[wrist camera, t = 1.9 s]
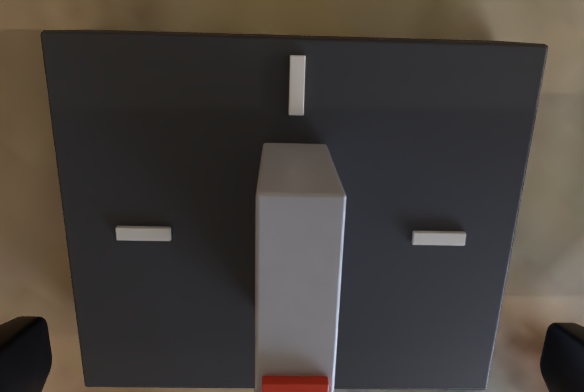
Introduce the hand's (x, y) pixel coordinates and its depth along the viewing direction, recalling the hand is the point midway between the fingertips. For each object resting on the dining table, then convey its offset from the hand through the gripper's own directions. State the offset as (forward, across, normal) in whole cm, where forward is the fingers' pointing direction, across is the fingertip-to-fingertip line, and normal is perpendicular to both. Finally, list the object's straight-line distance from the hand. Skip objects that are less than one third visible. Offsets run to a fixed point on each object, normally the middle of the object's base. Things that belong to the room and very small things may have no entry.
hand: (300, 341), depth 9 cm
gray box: (+5, 0, 0) cm, 5 cm away
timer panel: (+8, 0, 0) cm, 8 cm away
